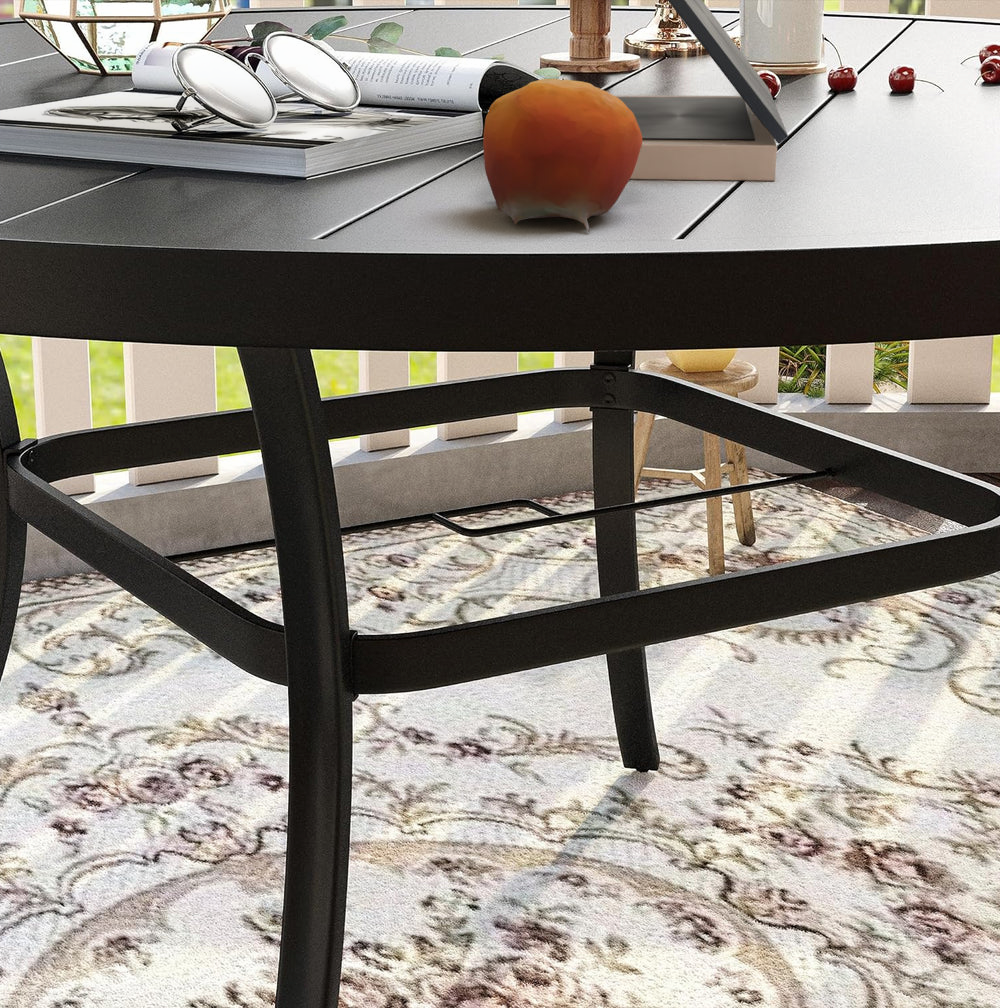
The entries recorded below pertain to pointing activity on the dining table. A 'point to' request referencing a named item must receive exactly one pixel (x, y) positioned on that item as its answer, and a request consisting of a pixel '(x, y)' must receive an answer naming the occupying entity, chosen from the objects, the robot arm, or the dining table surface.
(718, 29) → the laptop screen
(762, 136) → the beige flat box
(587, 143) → the fruit
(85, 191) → the dining table surface
